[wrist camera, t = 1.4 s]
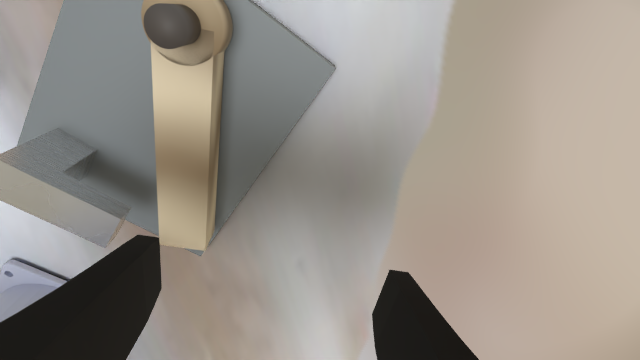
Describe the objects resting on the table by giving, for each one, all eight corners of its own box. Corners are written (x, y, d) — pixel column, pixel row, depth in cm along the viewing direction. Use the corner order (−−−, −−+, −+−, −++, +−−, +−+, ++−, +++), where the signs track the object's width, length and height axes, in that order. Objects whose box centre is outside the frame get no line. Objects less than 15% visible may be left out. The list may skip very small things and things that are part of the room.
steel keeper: (142, 205, 18) (105, 247, 15) (46, 157, 17) (-18, 192, 14) (156, 180, 18) (120, 219, 14) (58, 127, 16) (-7, 157, 13)
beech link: (160, -26, 13) (114, -36, 10) (235, -9, 13) (212, -14, 10) (167, 224, 19) (139, 265, 16) (219, 231, 19) (201, 272, 16)
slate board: (205, 246, 21) (200, 256, 20) (26, 156, 18) (11, 164, 17) (334, 65, 16) (335, 68, 15) (115, -106, 13) (100, -115, 12)
